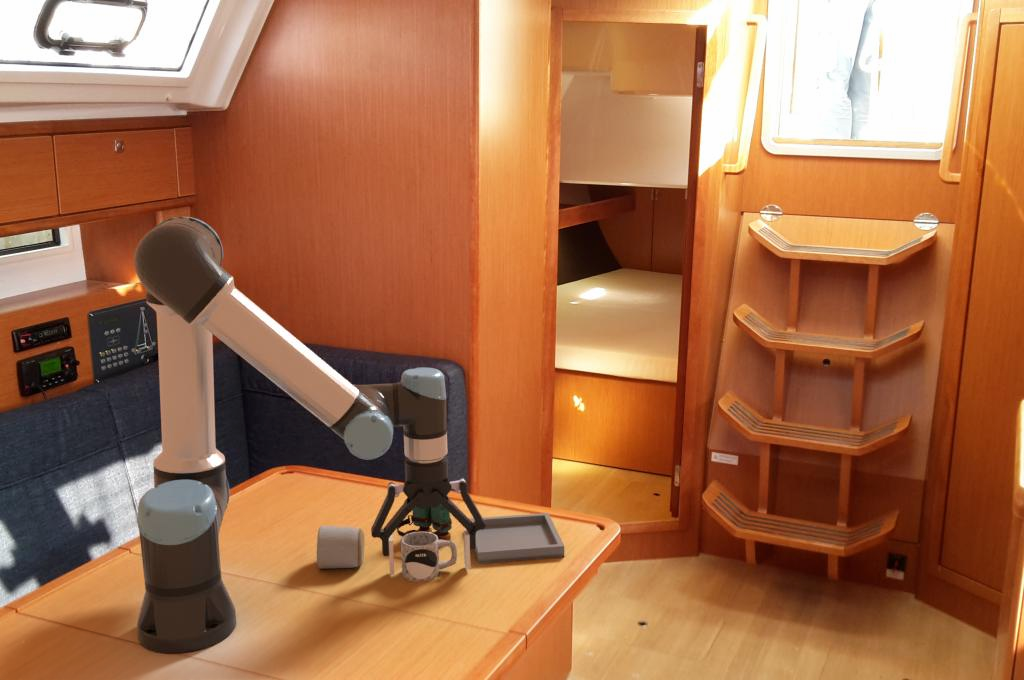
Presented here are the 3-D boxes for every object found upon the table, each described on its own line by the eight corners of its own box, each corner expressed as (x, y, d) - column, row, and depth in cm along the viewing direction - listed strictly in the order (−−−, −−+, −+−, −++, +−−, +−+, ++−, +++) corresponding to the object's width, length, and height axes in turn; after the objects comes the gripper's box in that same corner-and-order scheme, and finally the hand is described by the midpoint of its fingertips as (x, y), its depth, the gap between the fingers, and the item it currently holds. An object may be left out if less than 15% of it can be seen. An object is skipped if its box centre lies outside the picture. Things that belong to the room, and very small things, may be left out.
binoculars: (386, 500, 193) (418, 478, 201) (392, 550, 197) (423, 527, 205) (424, 509, 189) (455, 487, 197) (430, 560, 192) (460, 536, 200)
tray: (478, 563, 188) (478, 552, 188) (468, 529, 204) (468, 518, 203) (564, 557, 191) (564, 545, 190) (548, 523, 206) (548, 512, 206)
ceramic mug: (363, 573, 185) (361, 533, 183) (317, 575, 184) (314, 535, 183) (367, 550, 195) (365, 511, 194) (323, 551, 195) (321, 513, 193)
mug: (404, 583, 181) (402, 548, 180) (400, 567, 187) (398, 533, 186) (460, 577, 183) (459, 543, 182) (454, 562, 189) (453, 528, 188)
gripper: (493, 445, 186) (495, 554, 190) (354, 453, 182) (359, 564, 187) (499, 458, 178) (501, 572, 183) (354, 468, 175) (360, 583, 180)
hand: (429, 568), depth 185 cm, fingers open, 13 cm apart
